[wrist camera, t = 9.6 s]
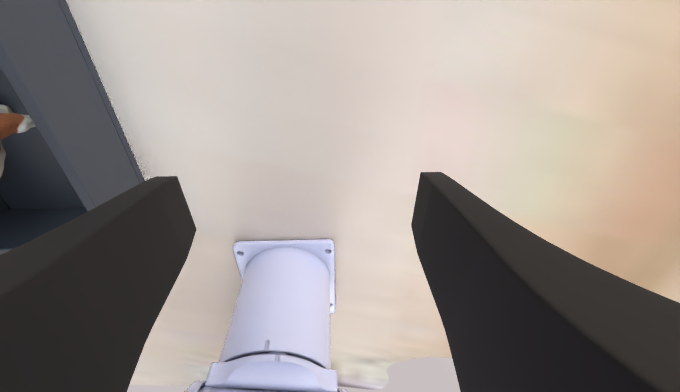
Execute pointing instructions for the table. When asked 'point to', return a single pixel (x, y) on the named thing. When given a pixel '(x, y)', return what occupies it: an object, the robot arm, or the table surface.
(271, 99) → the table surface
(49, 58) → the tote
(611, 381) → the robot arm
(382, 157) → the table surface
